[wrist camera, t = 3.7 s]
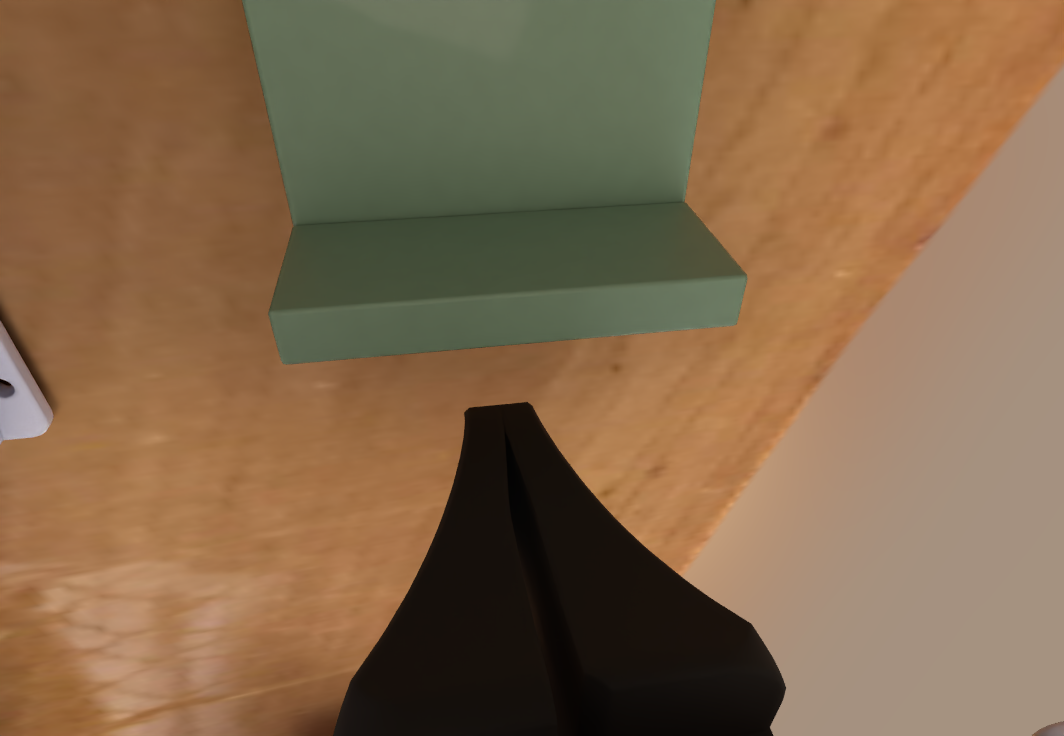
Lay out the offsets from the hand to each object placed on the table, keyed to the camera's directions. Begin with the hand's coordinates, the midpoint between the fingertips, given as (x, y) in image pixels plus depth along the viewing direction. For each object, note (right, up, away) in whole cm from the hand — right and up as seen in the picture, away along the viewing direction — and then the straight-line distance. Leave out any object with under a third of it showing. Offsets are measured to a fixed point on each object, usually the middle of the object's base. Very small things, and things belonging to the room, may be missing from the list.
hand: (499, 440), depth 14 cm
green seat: (0, +8, -2) cm, 8 cm away
